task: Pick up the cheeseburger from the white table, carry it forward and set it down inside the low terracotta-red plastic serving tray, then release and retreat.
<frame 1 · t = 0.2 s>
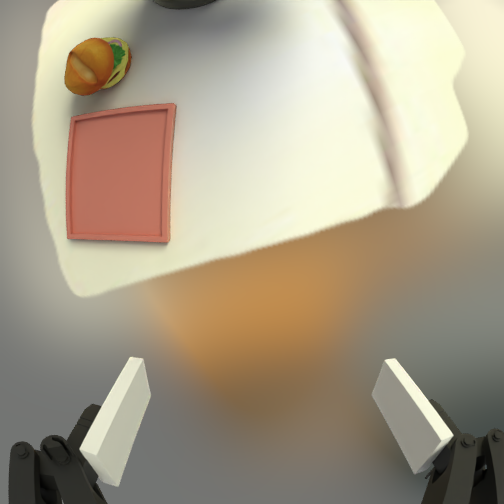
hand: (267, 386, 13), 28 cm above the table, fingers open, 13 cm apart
tray: (116, 173, 36), on the table
cheeseburger: (108, 71, 32), on the table
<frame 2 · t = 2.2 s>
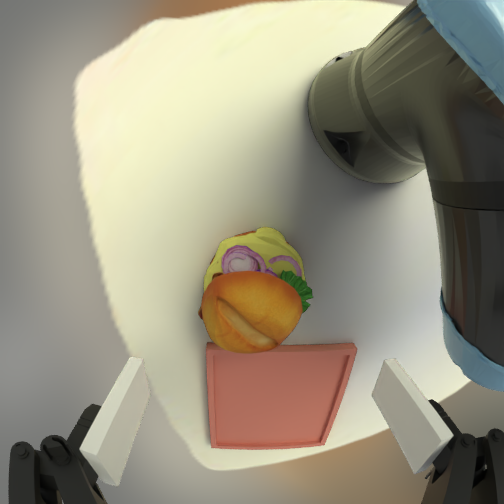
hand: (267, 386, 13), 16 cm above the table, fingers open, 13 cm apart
tray: (275, 402, 33), on the table
cheeseburger: (254, 278, 29), on the table
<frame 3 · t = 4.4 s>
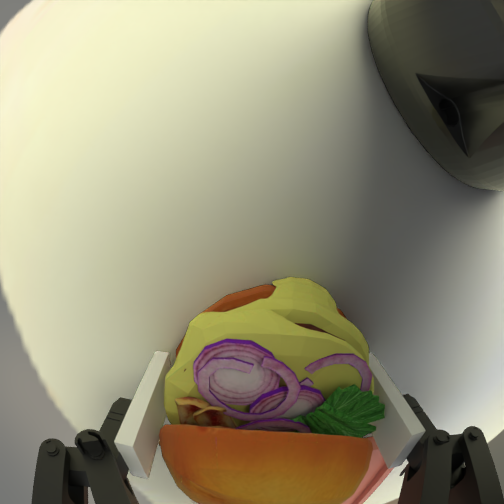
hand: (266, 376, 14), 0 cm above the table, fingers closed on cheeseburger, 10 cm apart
tray: (290, 495, 19), on the table
cheeseburger: (266, 365, 14), on the table, touching gripper
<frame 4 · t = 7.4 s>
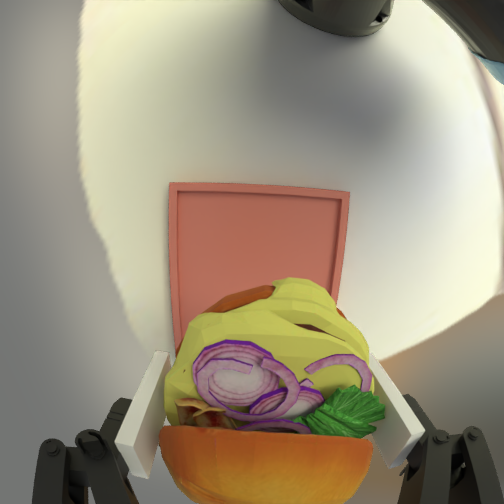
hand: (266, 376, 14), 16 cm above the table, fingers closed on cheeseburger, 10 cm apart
tray: (255, 279, 30), on the table
cheeseburger: (266, 366, 14), point 16 cm above the table, touching gripper
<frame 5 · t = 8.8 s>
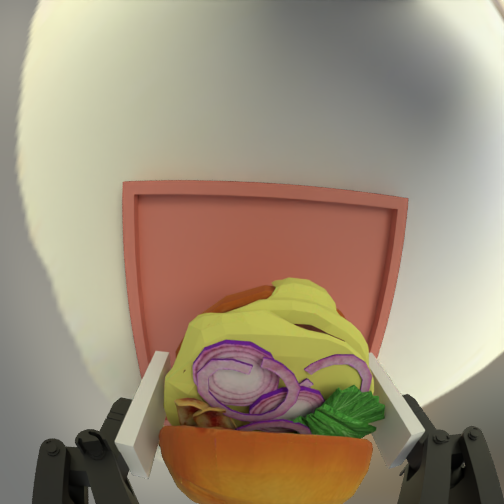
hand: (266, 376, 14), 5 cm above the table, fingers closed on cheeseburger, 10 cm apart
tray: (261, 329, 19), on the table
cheeseburger: (265, 366, 14), point 5 cm above the table, touching gripper
when the fingers open (3 cm above the table, at t = 10.2 s): cheeseburger drops 1 cm, resting on tray.
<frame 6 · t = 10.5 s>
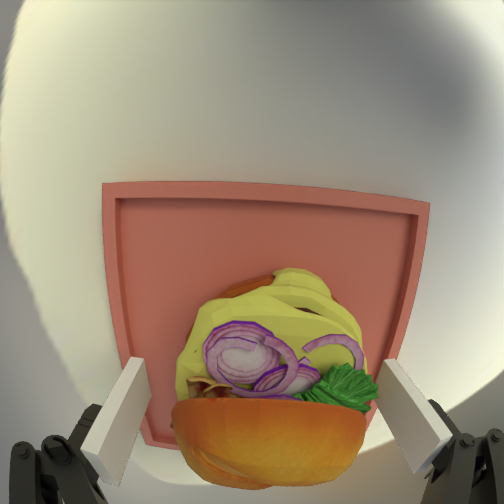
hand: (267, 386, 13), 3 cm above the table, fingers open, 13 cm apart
tray: (263, 350, 16), on the table
cheeseburger: (268, 351, 16), point 1 cm above the table, touching tray
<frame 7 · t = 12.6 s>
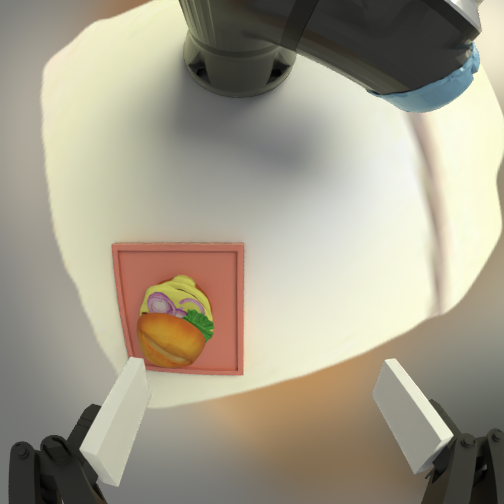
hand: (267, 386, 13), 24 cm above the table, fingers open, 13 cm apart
tray: (180, 311, 38), on the table
cheeseburger: (180, 311, 37), point 1 cm above the table, touching tray
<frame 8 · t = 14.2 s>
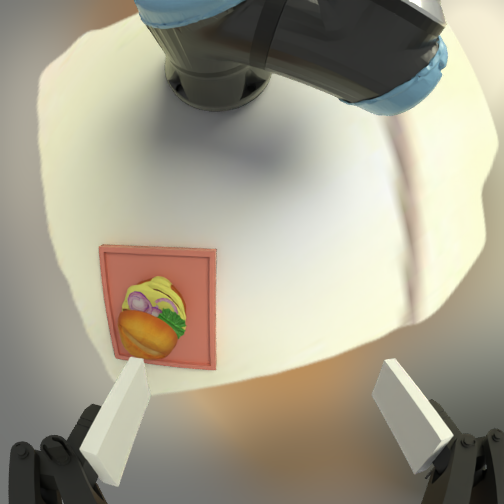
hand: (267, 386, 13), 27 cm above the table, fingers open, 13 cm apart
tray: (159, 309, 40), on the table
cheeseburger: (159, 308, 40), point 1 cm above the table, touching tray
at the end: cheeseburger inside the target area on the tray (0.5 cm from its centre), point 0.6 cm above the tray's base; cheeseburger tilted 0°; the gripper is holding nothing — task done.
